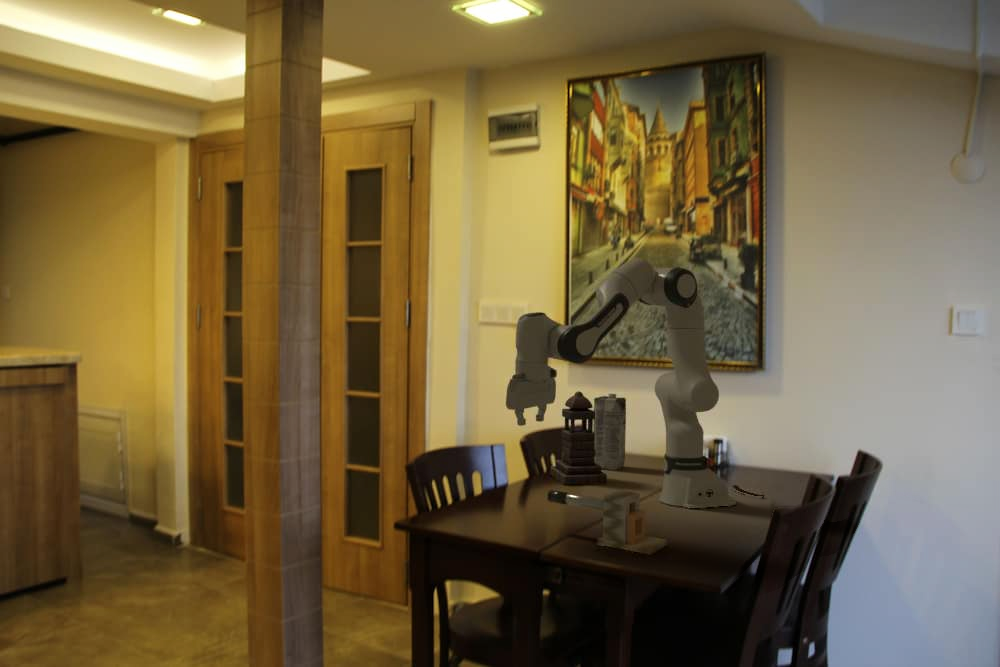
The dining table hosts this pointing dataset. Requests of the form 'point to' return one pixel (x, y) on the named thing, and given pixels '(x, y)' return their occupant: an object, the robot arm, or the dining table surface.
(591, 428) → the miniature tower
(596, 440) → the battery
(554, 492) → the shaft
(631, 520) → the orange upright panel
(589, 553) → the dining table surface
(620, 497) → the bearing frame
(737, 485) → the curved wedge
